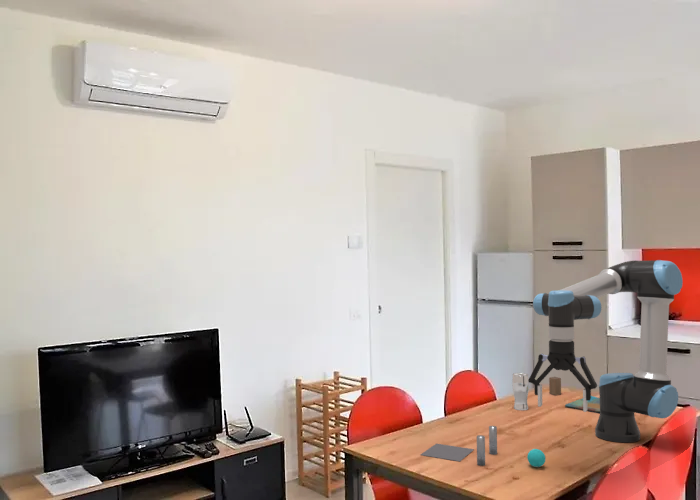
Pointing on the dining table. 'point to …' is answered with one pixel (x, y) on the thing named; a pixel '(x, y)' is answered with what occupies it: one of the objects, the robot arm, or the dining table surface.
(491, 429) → the post
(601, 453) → the dining table surface
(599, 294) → the robot arm
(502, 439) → the dining table surface
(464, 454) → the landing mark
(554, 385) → the wooden block
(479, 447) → the post
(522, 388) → the beer glass
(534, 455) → the ball
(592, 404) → the dish towel
